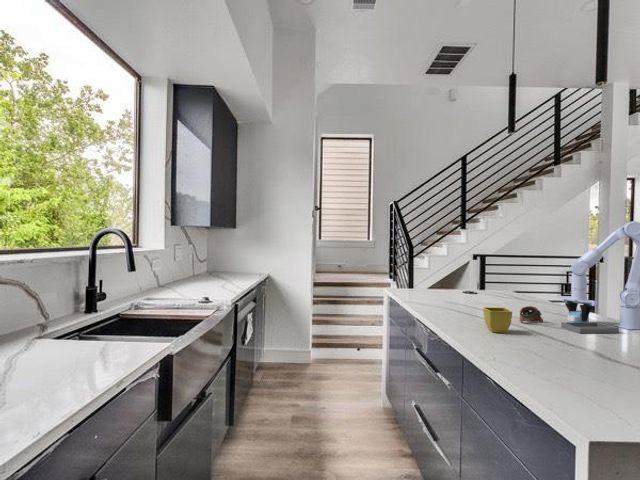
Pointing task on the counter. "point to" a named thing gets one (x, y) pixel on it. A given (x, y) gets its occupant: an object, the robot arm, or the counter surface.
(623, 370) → the counter surface
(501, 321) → the flower pot
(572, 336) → the counter surface
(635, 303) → the robot arm
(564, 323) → the tray
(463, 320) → the counter surface
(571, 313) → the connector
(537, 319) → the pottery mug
